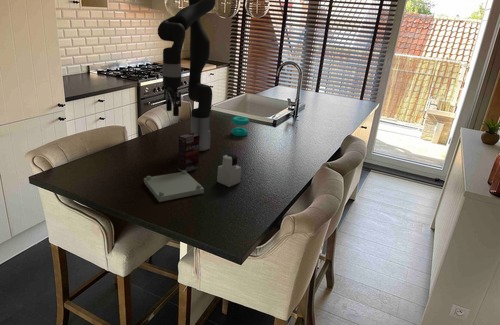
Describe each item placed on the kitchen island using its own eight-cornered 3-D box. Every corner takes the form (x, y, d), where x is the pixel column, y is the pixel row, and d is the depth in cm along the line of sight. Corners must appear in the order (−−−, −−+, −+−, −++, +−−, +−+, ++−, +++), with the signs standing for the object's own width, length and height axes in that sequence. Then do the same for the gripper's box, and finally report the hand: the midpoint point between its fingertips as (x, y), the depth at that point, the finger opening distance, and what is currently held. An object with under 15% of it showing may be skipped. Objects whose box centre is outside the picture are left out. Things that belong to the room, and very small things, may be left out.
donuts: (232, 115, 217) (249, 116, 217) (231, 131, 221) (248, 132, 221) (231, 119, 208) (248, 121, 208) (230, 136, 212) (247, 137, 212)
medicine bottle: (228, 177, 158) (229, 151, 154) (240, 182, 154) (242, 156, 150) (216, 181, 153) (218, 155, 149) (229, 187, 149) (230, 160, 145)
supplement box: (185, 173, 159) (185, 138, 153) (177, 170, 161) (177, 136, 155) (199, 168, 165) (200, 134, 159) (191, 165, 168) (192, 132, 162)
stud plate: (185, 175, 156) (185, 169, 155) (203, 193, 143) (204, 186, 141) (144, 182, 147) (143, 175, 146) (159, 202, 133) (159, 194, 132)
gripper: (187, 77, 145) (187, 117, 151) (174, 71, 156) (175, 108, 162) (169, 78, 141) (169, 118, 147) (157, 71, 152) (158, 109, 158)
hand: (172, 113), depth 154 cm, fingers open, 8 cm apart
